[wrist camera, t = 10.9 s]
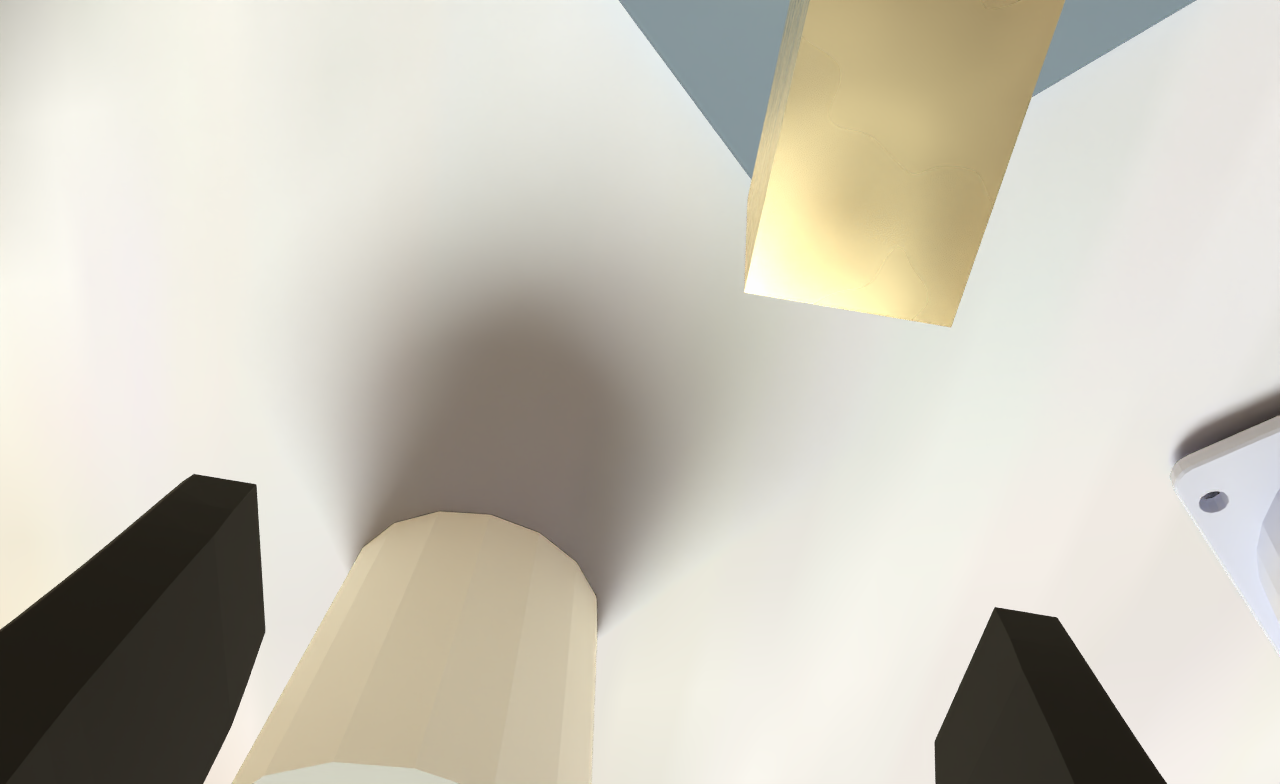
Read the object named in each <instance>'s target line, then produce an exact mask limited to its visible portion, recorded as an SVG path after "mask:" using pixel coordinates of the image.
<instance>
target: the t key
mask: <svg viewBox="0 0 1280 784" xmlns="http://www.w3.org/2000/svg"><path fill="white" fill-rule="evenodd" d="M1064 3H1065V0H790V4H789V8H788V13H787V17H786V22H785V27H784V31H783V36H782V41H781V45H780V50H779V55H778V59H777V64H776V69H775V73H774V78H773V83H772V87H771V92H770V97H769V101H768V106H767V111H766V115H765V120H764V125H763V129H762V134H761V139H760V143H759V148H758V153H757V157H756V162H755V167H754V171H753V176H752V181H751V185H750V190H749V195H748V203H747V230H746V258H745V285H744V292H745V293H751V294H757V295H763V296H768V297H774V298H780V299H786V300H792V301H798V302H804V303H810V304H816V305H822V306H828V307H834V308H840V309H846V310H852V311H858V312H863V313H869V314H875V315H881V316H887V317H893V318H899V319H905V320H911V321H917V322H923V323H929V324H935V325H941V326H947V327H951V326H952V323H953V320H954V318H955V315H956V312H957V309H958V306H959V303H960V300H961V298H962V295H963V292H964V289H965V286H966V283H967V280H968V277H969V275H970V272H971V269H972V266H973V263H974V260H975V257H976V255H977V252H978V249H979V246H980V243H981V240H982V237H983V235H984V232H985V229H986V226H987V223H988V220H989V217H990V215H991V212H992V209H993V206H994V203H995V200H996V197H997V194H998V192H999V189H1000V186H1001V183H1002V180H1003V177H1004V174H1005V172H1006V169H1007V166H1008V163H1009V160H1010V157H1011V154H1012V152H1013V149H1014V146H1015V143H1016V140H1017V137H1018V134H1019V131H1020V129H1021V126H1022V123H1023V120H1024V117H1025V114H1026V111H1027V109H1028V106H1029V103H1030V100H1031V97H1032V94H1033V91H1034V89H1035V86H1036V83H1037V80H1038V77H1039V74H1040V71H1041V68H1042V66H1043V63H1044V60H1045V57H1046V54H1047V51H1048V48H1049V46H1050V43H1051V40H1052V37H1053V34H1054V31H1055V28H1056V26H1057V23H1058V20H1059V17H1060V14H1061V11H1062V8H1063V5H1064Z"/></svg>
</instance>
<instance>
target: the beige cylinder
mask: <svg viewBox="0 0 1280 784" xmlns="http://www.w3.org/2000/svg"><path fill="white" fill-rule="evenodd" d="M596 653H597V597H596V595H595V594H594V592H593V590H592V588H591V587H590V585H589V583H588V581H587V580H586V578H585V576H584V574H583V573H582V571H581V569H580V567H579V566H578V564H577V562H576V561H574V560H573V559H572V558H571V557H569V556H568V555H567V554H566V553H564V552H563V551H562V550H560V549H559V548H558V547H557V546H555V545H554V544H553V543H552V542H550V541H549V540H548V539H546V538H545V537H544V536H543V535H541V534H540V533H538V532H536V531H533V530H530V529H528V528H525V527H522V526H520V525H517V524H514V523H512V522H509V521H506V520H504V519H501V518H498V517H495V516H493V515H488V514H473V513H457V512H442V511H438V512H434V513H431V514H427V515H423V516H419V517H415V518H412V519H408V520H404V521H400V522H396V523H393V524H392V525H391V526H390V527H388V528H387V529H386V530H385V531H383V532H382V533H381V534H380V535H378V536H377V537H376V538H374V539H373V540H372V541H371V542H369V543H368V544H367V545H366V546H364V547H363V548H362V550H361V552H360V554H359V555H358V557H357V559H356V561H355V563H354V564H353V566H352V568H351V570H350V572H349V573H348V575H347V577H346V579H345V581H344V582H343V584H342V586H341V588H340V590H339V591H338V593H337V595H336V597H335V599H334V600H333V602H332V604H331V606H330V608H329V609H328V611H327V613H326V615H325V617H324V618H323V620H322V622H321V624H320V626H319V627H318V629H317V631H316V633H315V635H314V636H313V638H312V640H311V642H310V644H309V645H308V647H307V649H306V651H305V653H304V654H303V656H302V658H301V660H300V662H299V663H298V665H297V667H296V669H295V671H294V672H293V674H292V676H291V678H290V680H289V681H288V683H287V685H286V687H285V689H284V690H283V692H282V694H281V696H280V698H279V699H278V701H277V703H276V705H275V707H274V708H273V710H272V712H271V714H270V716H269V717H268V719H267V721H266V723H265V725H264V726H263V728H262V730H261V732H260V734H259V735H258V737H257V739H256V741H255V742H254V744H253V746H252V748H251V750H250V751H249V753H248V755H247V757H246V759H245V760H244V762H243V764H242V766H241V768H240V769H239V771H238V773H237V775H236V777H235V778H234V780H233V782H232V784H591V781H592V755H593V730H594V704H595V679H596Z"/></svg>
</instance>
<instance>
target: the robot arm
mask: <svg viewBox="0 0 1280 784" xmlns="http://www.w3.org/2000/svg"><path fill="white" fill-rule="evenodd" d="M1170 479H1171V483H1172V486H1173V488H1174V490H1175V493H1176V495H1177V496H1178V498H1179V499H1180V501H1181V503H1182V504H1183V506H1184V507H1185V509H1186V510H1187V512H1188V514H1189V515H1190V517H1191V518H1192V520H1193V521H1194V523H1195V525H1196V526H1197V528H1198V529H1199V531H1200V532H1201V534H1202V536H1203V537H1204V539H1205V540H1206V542H1207V543H1208V545H1209V547H1210V548H1211V550H1212V551H1213V553H1214V554H1215V556H1216V558H1217V559H1218V561H1219V562H1220V564H1221V565H1222V567H1223V569H1224V570H1225V572H1226V573H1227V575H1228V576H1229V578H1230V580H1231V581H1232V583H1233V584H1234V586H1235V587H1236V589H1237V590H1238V592H1239V594H1240V595H1241V597H1242V598H1243V600H1244V601H1245V603H1246V605H1247V606H1248V608H1249V609H1250V611H1251V612H1252V614H1253V616H1254V617H1255V619H1256V620H1257V622H1258V623H1259V625H1260V627H1261V628H1262V630H1263V631H1264V633H1265V634H1266V636H1267V638H1268V639H1269V641H1270V642H1271V644H1272V645H1273V647H1274V649H1275V650H1276V652H1277V653H1278V655H1279V656H1280V415H1278V416H1276V417H1274V418H1272V419H1269V420H1267V421H1265V422H1262V423H1260V424H1258V425H1256V426H1253V427H1251V428H1249V429H1246V430H1244V431H1242V432H1239V433H1237V434H1235V435H1233V436H1230V437H1228V438H1226V439H1223V440H1221V441H1219V442H1217V443H1214V444H1212V445H1210V446H1207V447H1205V448H1203V449H1200V450H1198V451H1196V452H1194V453H1191V454H1189V455H1187V456H1185V457H1184V458H1182V459H1180V460H1179V461H1177V463H1176V464H1175V465H1174V466H1173V468H1172V469H1171V473H1170ZM1214 491H1219V492H1220V493H1219V494H1218V495H1216V496H1215V497H1213V498H1209V499H1201V498H1202V497H1203V496H1204V495H1206V494H1207V493H1210V492H1214ZM264 634H265V617H264V601H263V584H262V568H261V552H260V536H259V519H258V503H257V487H256V484H251V483H244V482H238V481H232V480H226V479H220V478H214V477H208V476H202V475H196V474H193V475H192V476H190V477H189V478H187V479H186V480H184V481H183V482H182V483H180V484H179V485H178V486H177V487H176V488H174V489H173V490H172V491H171V492H170V493H168V494H167V495H166V496H165V497H164V498H162V499H161V500H160V501H159V502H158V503H156V504H155V505H154V506H153V507H152V508H151V509H149V510H148V511H147V512H146V513H145V514H143V515H142V516H141V517H140V518H139V519H138V520H136V521H135V522H134V523H133V524H132V525H130V526H129V527H128V528H127V529H126V530H124V531H123V532H122V533H121V534H120V535H118V536H117V537H116V538H115V539H114V540H113V541H111V542H110V543H109V544H108V545H106V546H105V547H104V548H103V549H102V550H100V551H99V552H98V553H97V554H96V555H94V556H93V557H92V558H91V559H89V560H88V561H87V562H86V563H85V564H83V565H82V566H81V567H80V568H78V569H77V570H76V571H75V572H73V573H72V574H71V575H70V576H68V577H67V578H66V579H65V580H63V581H62V582H61V583H59V584H58V585H57V586H56V587H54V588H53V589H52V590H51V591H49V592H48V593H47V594H46V595H44V596H43V597H42V598H40V599H39V600H38V601H37V602H35V603H34V604H33V605H32V606H30V607H29V608H28V609H26V610H25V611H24V612H23V613H21V614H20V615H19V616H18V617H16V618H15V619H14V620H12V621H11V622H10V623H8V624H7V625H6V626H4V627H3V628H2V629H1V630H0V784H203V783H204V781H205V779H206V777H207V775H208V773H209V771H210V769H211V767H212V765H213V763H214V761H215V759H216V757H217V755H218V753H219V751H220V749H221V747H222V745H223V743H224V740H225V738H226V736H227V734H228V732H229V730H230V728H231V726H232V723H233V721H234V718H235V715H236V713H237V710H238V707H239V704H240V702H241V699H242V696H243V694H244V691H245V688H246V686H247V683H248V680H249V677H250V674H251V671H252V668H253V666H254V663H255V660H256V657H257V654H258V651H259V648H260V645H261V642H262V640H263V637H264ZM935 780H936V784H1167V783H1166V782H1165V780H1164V779H1163V777H1162V776H1161V774H1160V773H1159V772H1158V770H1157V769H1156V767H1155V766H1154V764H1153V763H1152V761H1151V760H1150V758H1149V757H1148V755H1147V754H1146V752H1145V751H1144V749H1143V748H1142V746H1141V745H1140V743H1139V742H1138V740H1137V739H1136V737H1135V736H1134V734H1133V733H1132V731H1131V730H1130V728H1129V727H1128V725H1127V724H1126V722H1125V721H1124V719H1123V718H1122V716H1121V715H1120V713H1119V712H1118V710H1117V709H1116V707H1115V705H1114V704H1113V702H1112V701H1111V699H1110V698H1109V696H1108V695H1107V693H1106V692H1105V690H1104V689H1103V687H1102V685H1101V684H1100V682H1099V681H1098V679H1097V678H1096V676H1095V675H1094V673H1093V672H1092V670H1091V668H1090V667H1089V665H1088V664H1087V662H1086V661H1085V659H1084V658H1083V656H1082V655H1081V653H1080V652H1079V650H1078V649H1077V647H1076V645H1075V644H1074V642H1073V641H1072V639H1071V638H1070V636H1069V635H1068V633H1067V632H1066V630H1065V629H1064V627H1063V626H1062V624H1061V623H1060V621H1059V620H1058V618H1057V617H1051V616H1045V615H1039V614H1033V613H1027V612H1021V611H1015V610H1009V609H1003V608H997V607H995V608H994V610H993V612H992V615H991V617H990V619H989V621H988V624H987V626H986V628H985V630H984V632H983V635H982V637H981V639H980V641H979V644H978V646H977V648H976V650H975V653H974V655H973V657H972V659H971V662H970V664H969V666H968V668H967V670H966V673H965V675H964V677H963V679H962V682H961V684H960V686H959V688H958V691H957V693H956V695H955V697H954V699H953V702H952V704H951V706H950V708H949V711H948V713H947V715H946V717H945V720H944V722H943V724H942V726H941V729H940V731H939V733H938V735H937V737H936V740H935Z"/></svg>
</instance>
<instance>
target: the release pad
mask: <svg viewBox="0 0 1280 784" xmlns="http://www.w3.org/2000/svg"><path fill="white" fill-rule="evenodd" d="M619 1H620V3H621V4H622V5H623V7H624V8H625V9H626V11H627V12H628V14H629V15H630V16H631V18H632V19H633V20H634V22H635V23H636V24H637V26H638V27H639V28H640V30H641V31H642V32H643V34H644V35H645V36H646V38H647V39H648V41H649V42H650V43H651V45H652V46H653V47H654V49H655V50H656V51H657V53H658V54H659V55H660V57H661V58H662V59H663V61H664V62H665V63H666V65H667V66H668V68H669V69H670V70H671V72H672V73H673V74H674V76H675V77H676V78H677V80H678V81H679V82H680V84H681V85H682V86H683V88H684V89H685V91H686V92H687V93H688V95H689V96H690V97H691V99H692V100H693V101H694V103H695V104H696V105H697V107H698V108H699V109H700V111H701V112H702V113H703V115H704V116H705V118H706V119H707V120H708V122H709V123H710V124H711V126H712V127H713V128H714V130H715V131H716V132H717V134H718V135H719V136H720V138H721V139H722V140H723V142H724V143H725V145H726V146H727V147H728V149H729V150H730V151H731V153H732V154H733V155H734V157H735V158H736V159H737V161H738V162H739V163H740V165H741V166H742V168H743V169H744V170H745V172H746V173H747V174H748V176H749V177H750V178H751V180H752V176H753V171H754V167H755V162H756V157H757V153H758V148H759V143H760V139H761V134H762V129H763V125H764V120H765V115H766V111H767V106H768V101H769V97H770V92H771V87H772V83H773V78H774V73H775V69H776V64H777V59H778V55H779V50H780V45H781V41H782V36H783V31H784V27H785V22H786V17H787V13H788V8H789V4H790V0H619ZM1194 1H1196V0H1065V3H1064V5H1063V8H1062V11H1061V14H1060V17H1059V20H1058V23H1057V26H1056V28H1055V31H1054V34H1053V37H1052V40H1051V43H1050V46H1049V48H1048V51H1047V54H1046V57H1045V60H1044V63H1043V66H1042V68H1041V71H1040V74H1039V77H1038V80H1037V83H1036V86H1035V89H1034V91H1033V94H1032V97H1033V96H1035V95H1037V94H1038V93H1040V92H1042V91H1043V90H1045V89H1047V88H1048V87H1050V86H1052V85H1053V84H1055V83H1057V82H1059V81H1060V80H1062V79H1064V78H1065V77H1067V76H1069V75H1070V74H1072V73H1074V72H1075V71H1077V70H1079V69H1081V68H1082V67H1084V66H1086V65H1087V64H1089V63H1091V62H1092V61H1094V60H1096V59H1097V58H1099V57H1101V56H1103V55H1104V54H1106V53H1108V52H1109V51H1111V50H1113V49H1114V48H1116V47H1118V46H1119V45H1121V44H1123V43H1125V42H1126V41H1128V40H1130V39H1131V38H1133V37H1135V36H1136V35H1138V34H1140V33H1141V32H1143V31H1145V30H1147V29H1148V28H1150V27H1152V26H1153V25H1155V24H1157V23H1158V22H1160V21H1162V20H1163V19H1165V18H1167V17H1169V16H1170V15H1172V14H1174V13H1175V12H1177V11H1179V10H1180V9H1182V8H1184V7H1185V6H1187V5H1189V4H1191V3H1192V2H1194Z"/></svg>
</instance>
